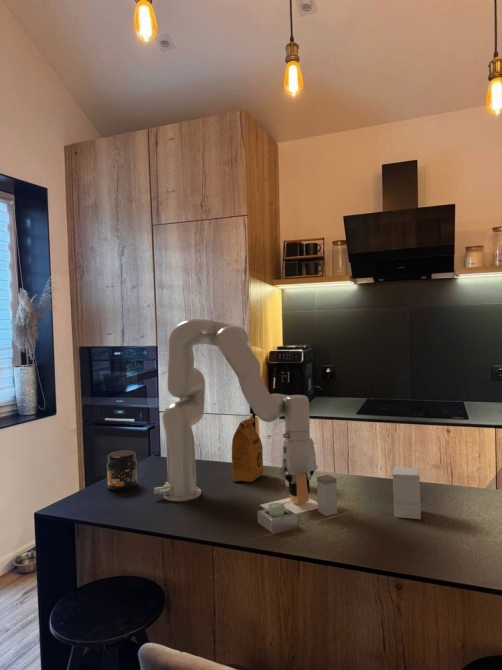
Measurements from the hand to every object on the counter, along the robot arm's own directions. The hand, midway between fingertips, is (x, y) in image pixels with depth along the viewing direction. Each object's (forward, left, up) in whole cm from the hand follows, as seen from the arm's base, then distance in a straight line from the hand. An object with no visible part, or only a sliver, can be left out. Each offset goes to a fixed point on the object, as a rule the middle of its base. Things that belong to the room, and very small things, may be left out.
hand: (299, 493), depth 148 cm
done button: (-14, -9, -2) cm, 17 cm away
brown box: (0, 0, -2) cm, 2 cm away
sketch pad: (-3, 0, -4) cm, 5 cm away
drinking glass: (+8, +16, -4) cm, 18 cm away
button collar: (-14, -9, -4) cm, 17 cm away
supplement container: (-43, +50, -4) cm, 66 cm away
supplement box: (+22, -23, -4) cm, 32 cm away
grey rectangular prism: (+3, -10, -4) cm, 11 cm away
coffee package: (-1, +32, -4) cm, 32 cm away
